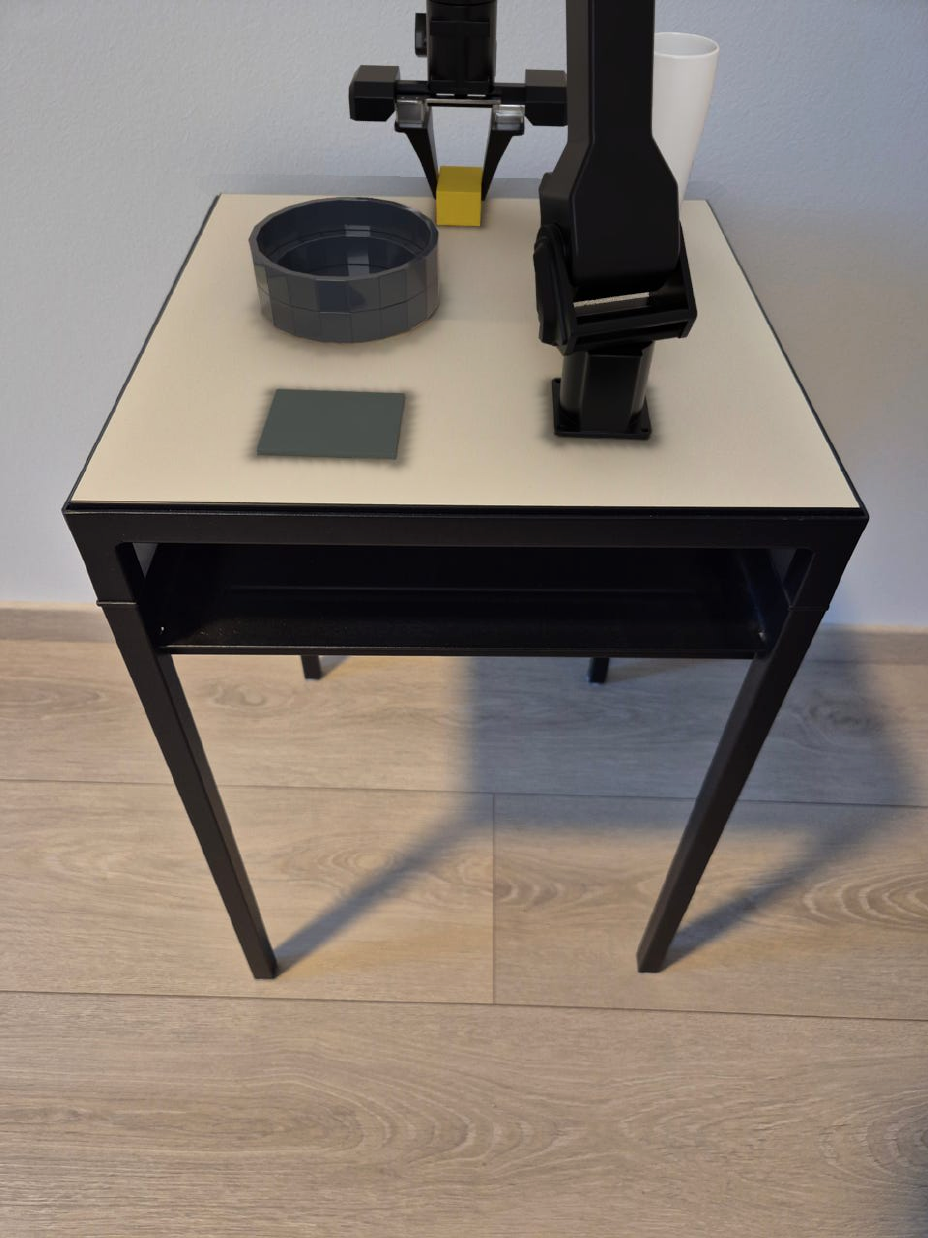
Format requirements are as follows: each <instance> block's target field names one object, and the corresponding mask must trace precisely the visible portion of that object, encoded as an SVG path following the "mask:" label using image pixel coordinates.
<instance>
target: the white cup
mask: <svg viewBox="0 0 928 1238" xmlns="http://www.w3.org/2000/svg"><path fill="white" fill-rule="evenodd" d="M720 51H721V48H720V45H719V43H718V42H716V41H715V40H713V39H711V38H708V37H706V36H703V35H699V34H694V33H688V32H679V31H674V32H673V31H661V32H655V33H654V70H653V107H652V135H653V138H654V139H655V141H656V143H657V145H658V147H659V149H660V151H661V153H662V155H663V156H664V158H665V160H666V162H667V164H668V166H669V168H670V170H671V171H672V173H673V175H674V177H675V179H676V181H677V183H678V191H679V216H680V215H681V210H682V208H683V204H684V199H685V196H686V192H687V188H688V185H689V181H690V178H691V174H692V171H693V167H694V164H695V161H696V156H697V154H698V153H697V152H698V149H699V145H700V141H701V138H702V135H703V131H704V127H705V124H706V120H707V118H708V117H707V116H708V113H709V109H710V105H711V101H712V97H713V92H714V87H715V81H716V75H717V70H718V63H719V57H720Z"/></svg>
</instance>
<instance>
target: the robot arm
mask: <svg viewBox="0 0 928 1238" xmlns="http://www.w3.org/2000/svg"><path fill="white" fill-rule="evenodd" d="M425 11H426V12H415V14H414V54H415V56H416V57H417V58H419V59H420V58H421V59H422V58H423V59H425V58H426V75H427V76H426V79H427V80H419V79H417V80H416V79H401V77H402V76H401V69H400V66H399V65H381V64H380V65H375V64H374V65H373V64H372V65H371V64H360V65H359V66H358V68H357V69H356V70H355V72H354V73H353V76H352V78H351V81H350V83H349V85H348V96H347V98H348V112H349V119H350V120H352V121H354V122H372V123H373V122H374V123H375V122H377V123H386V122H387V121H388V120H390V118H391V117H392V116H393V114H394V113H395V119H394V123H393V130H394V132H395V133H398V134H400V133H401V134H405V135H406V138H407V139H408V141H409V143H410V145H411V147H412V149H413V150H414V152H415V155H416V156H417V159H418V160H419V163H420V165H421V167H422V170H423V173H424V176H425V178H426V182H427V183H428V186H429V189H430V193H431V194H432V198H433V199H434V201H436V190H437V184H438V178H439V164H438V156H437V149H436V147H437V146H436V140H435V139H436V138H435V131H434V118H433V116H434V115H433V108H434V107H435V108H437V107H438V108H466V109H467V108H469V109H491V110H490V115H489V116H490V117H489V124H488V132H487V140H486V145H485V152H484V159H483V165H482V168H483V170H482V180H481V201H482V202H485V201H486V198H487V196H488V194H489V190H490V188H491V185H492V182H493V180H494V177H495V174H496V172H497V169H498V166H499V164H500V161H501V160H502V158H503V155H504V153H505V152H506V150H507V148H508V146H509V144H510V142H511V140H512V138H514V137H521V136H524V135H525V130H526V125H525V123H526V122H525V118H526V120H527V121H528V122H529V123H530V124H531V125H532V127H553V128H555V127H557V128H559V127H560V128H563V127H564V128H565V127H567V140H566V144H565V146H564V148H563V150H562V152H561V153H560V156H559V158H558V159H557V162H556V164H555V166H554V168H553V170H552V171H549V172H548V171H547V172H545V173H543V175H542V178H541V180H540V183H539V185H538V199H539V214H540V215H539V216H540V227H539V229H538V230H537V233H536V238H535V242H534V244H533V253H532V262H533V271H534V284H535V287H534V288H535V307H536V313H537V317H538V318H537V319H538V322H539V329H538V330H539V331H538V339H539V341H540V342H541V343H542V344H545V345H549V346H552V347H556V348H557V350H558V351H559V353H560V355H562V357H563V358H562V359H563V360H562V368H561V377H554V378H552V379H551V383H550V394H551V395H550V396H551V414H552V415H551V416H552V432H553V435H554V436H556V437H559V438H575V439H576V438H580V439H605V440H607V439H608V440H633V441H634V440H637V441H638V440H639V441H647V440H650V439H651V437H652V433H653V429H652V423H651V418H650V412H649V406H648V400H647V396H646V391H647V388H648V387H647V386H648V382H649V376H650V371H651V367H652V366H651V365H652V360H653V356H654V351H655V345H656V342H657V341H664V340H669V339H685V338H688V336H689V334H690V332H691V330H692V328H693V326H694V324H695V323H696V320H697V319H698V308H697V303H696V296H695V291H694V286H693V280H692V275H691V269H690V263H689V257H688V253H687V246H686V242H685V236H684V230H683V226H682V222H681V220H680V215H679V191H678V183H677V181H676V179H675V177H674V175H673V173H672V171H671V170H670V168H669V166H668V164H667V162H666V160H665V158H664V156H663V155H662V153H661V151H660V149H659V147H658V145H657V143H656V141H655V139H654V138H653V135H652V107H653V70H654V33H656V32H655V27H656V0H565V43H566V44H565V45H566V50H565V51H566V52H565V53H566V71H565V69H564V70H563V69H533V68H532V69H531V68H530V69H529V68H528V69H527V68H525V70H524V79H523V80H524V82H499V81H498V82H496V81H495V80H496V76H497V75H496V74H497V45H498V43H497V42H498V41H497V24H498V23H497V22H498V0H425ZM646 293H647V294H648V296H641V297H634V298H628V299H627V298H626V299H621V300H620V299H619V300H612V301H606V302H599V303H592V304H584V305H578V306H575V303H582V302H583V303H584V302H589V301H596V300H605V299H611V298H618V297H626V296H632V295H639V294H646Z"/></svg>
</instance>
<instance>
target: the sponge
mask: <svg viewBox="0 0 928 1238" xmlns="http://www.w3.org/2000/svg"><path fill="white" fill-rule="evenodd" d="M482 171H483V166H458V165H440V166H439V169H438V172H439V178H438V184H437V190H436V200H435V204H436V205H435V207H436V209H435V210H436V213H435V214H436V215H435V216H436V225H437V226H459V227H460V226H461V227H480V226H481V216H482V202H483V201H481V180H482Z"/></svg>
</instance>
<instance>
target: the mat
mask: <svg viewBox="0 0 928 1238" xmlns="http://www.w3.org/2000/svg"><path fill="white" fill-rule="evenodd" d="M405 400H406V394H405V393H404V392H383V391H382V392H379V391H378V392H377V391H351V390H350V391H347V390H321V389H320V390H319V389H293V388H292V389H290V388H289V389H287V388H276V390H275V393H274V396H273V399H272V402H271V404H270V407H269V411H268V414H267V416H266V420H265V423H264V426H263V428H262V432H261V435H260V437H259V441H258V444H257V447H256V454H257V455H269V456H270V455H271V456H272V455H273V456H300V457H326V458H327V457H328V458H353V459H354V458H358V459H385V460H386V459H388V460H396V459H397V453H398V448H399V447H398V446H399V441H400V434H401V429H402V421H403V414H404V407H405Z"/></svg>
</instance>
